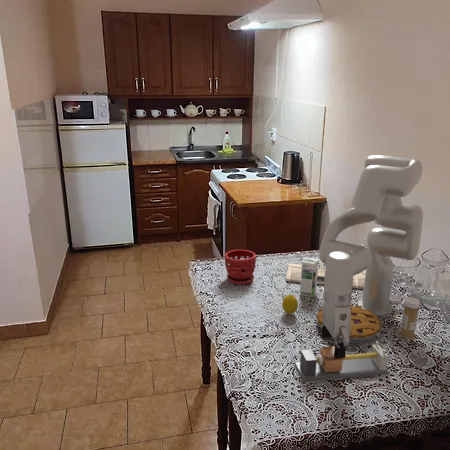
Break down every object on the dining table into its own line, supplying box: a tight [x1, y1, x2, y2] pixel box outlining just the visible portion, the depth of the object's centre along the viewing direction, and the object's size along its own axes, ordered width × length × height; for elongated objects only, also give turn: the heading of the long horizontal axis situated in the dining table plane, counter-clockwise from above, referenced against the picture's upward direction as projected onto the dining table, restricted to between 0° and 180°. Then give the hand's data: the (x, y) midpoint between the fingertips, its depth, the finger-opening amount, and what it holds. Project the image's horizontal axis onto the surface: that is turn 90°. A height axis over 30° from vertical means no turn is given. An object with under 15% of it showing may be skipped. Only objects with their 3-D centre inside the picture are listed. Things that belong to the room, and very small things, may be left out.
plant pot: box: [224, 249, 257, 285], centre depth 182 cm, size 13×13×12 cm
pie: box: [315, 304, 383, 345], centre depth 147 cm, size 22×22×5 cm
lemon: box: [281, 294, 299, 315], centre depth 156 cm, size 6×6×8 cm
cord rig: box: [294, 340, 391, 383], centre depth 126 cm, size 26×8×7 cm, turn 98°
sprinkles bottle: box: [399, 296, 421, 340], centre depth 142 cm, size 5×5×13 cm
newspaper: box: [285, 263, 366, 290], centre depth 188 cm, size 37×19×3 cm, turn 78°
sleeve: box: [319, 345, 343, 372], centre depth 125 cm, size 5×5×5 cm
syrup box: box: [299, 256, 320, 298], centre depth 170 cm, size 6×6×14 cm
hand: (332, 347), depth 125 cm, fingers open, 9 cm apart
